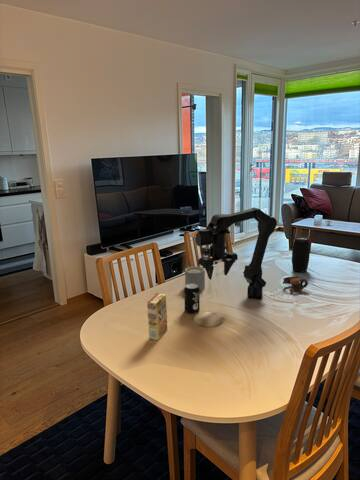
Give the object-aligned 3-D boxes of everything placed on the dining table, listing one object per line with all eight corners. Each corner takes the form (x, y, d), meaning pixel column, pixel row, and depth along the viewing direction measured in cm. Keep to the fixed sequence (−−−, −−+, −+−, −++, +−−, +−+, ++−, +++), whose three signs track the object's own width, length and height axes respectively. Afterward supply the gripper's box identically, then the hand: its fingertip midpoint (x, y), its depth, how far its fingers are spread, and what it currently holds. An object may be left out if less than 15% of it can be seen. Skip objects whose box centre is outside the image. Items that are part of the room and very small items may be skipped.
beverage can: (189, 315, 154) (188, 289, 151) (182, 309, 160) (181, 284, 157) (202, 312, 157) (202, 286, 154) (194, 306, 163) (194, 281, 160)
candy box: (158, 340, 135) (157, 303, 131) (148, 338, 136) (146, 301, 132) (167, 329, 143) (166, 294, 139) (158, 328, 144) (156, 292, 140)
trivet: (225, 315, 154) (225, 313, 153) (219, 328, 143) (219, 327, 142) (198, 312, 157) (198, 310, 157) (190, 324, 146) (190, 323, 146)
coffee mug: (195, 293, 177) (195, 274, 174) (181, 288, 184) (181, 269, 181) (213, 286, 186) (213, 267, 183) (199, 281, 193) (199, 263, 190)
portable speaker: (288, 268, 209) (290, 236, 204) (303, 267, 210) (306, 235, 205) (295, 273, 201) (297, 239, 196) (311, 272, 202) (313, 239, 197)
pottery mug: (284, 294, 175) (280, 277, 177) (285, 295, 184) (282, 279, 186) (309, 290, 171) (306, 273, 174) (310, 291, 180) (306, 275, 182)
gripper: (222, 237, 169) (221, 268, 173) (190, 243, 158) (190, 276, 162) (239, 242, 160) (237, 274, 164) (206, 248, 150) (206, 283, 154)
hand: (217, 277), depth 161 cm, fingers open, 9 cm apart
